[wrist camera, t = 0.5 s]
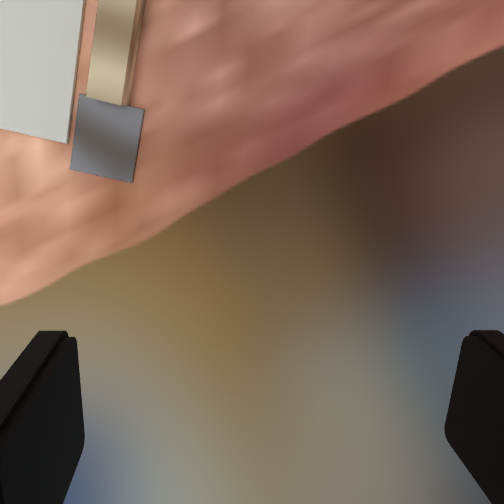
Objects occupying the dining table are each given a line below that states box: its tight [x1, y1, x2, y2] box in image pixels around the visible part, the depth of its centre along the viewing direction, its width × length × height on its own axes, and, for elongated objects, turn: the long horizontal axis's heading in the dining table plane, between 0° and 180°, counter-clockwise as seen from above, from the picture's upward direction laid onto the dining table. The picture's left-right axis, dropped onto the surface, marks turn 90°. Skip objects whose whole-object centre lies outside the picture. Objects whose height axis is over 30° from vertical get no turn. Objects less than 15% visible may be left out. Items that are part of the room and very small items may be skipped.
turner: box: [70, 0, 145, 183], centre depth 34 cm, size 16×5×4 cm, turn 166°
